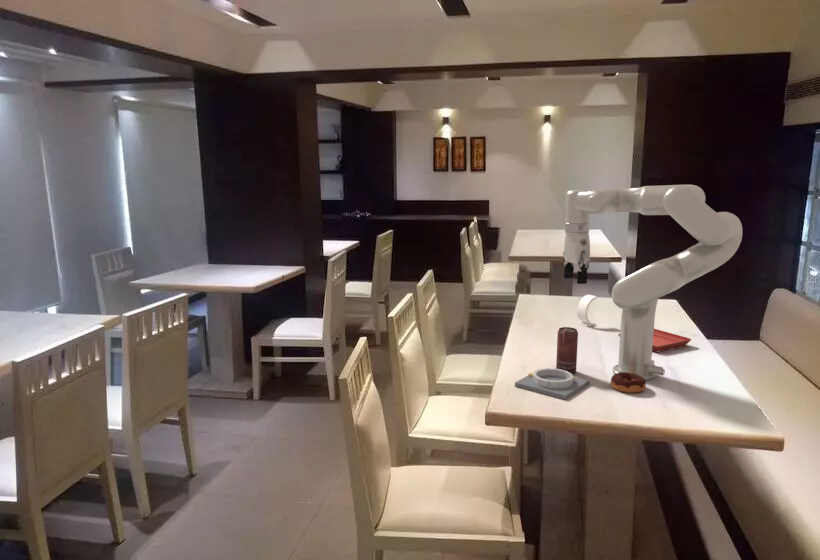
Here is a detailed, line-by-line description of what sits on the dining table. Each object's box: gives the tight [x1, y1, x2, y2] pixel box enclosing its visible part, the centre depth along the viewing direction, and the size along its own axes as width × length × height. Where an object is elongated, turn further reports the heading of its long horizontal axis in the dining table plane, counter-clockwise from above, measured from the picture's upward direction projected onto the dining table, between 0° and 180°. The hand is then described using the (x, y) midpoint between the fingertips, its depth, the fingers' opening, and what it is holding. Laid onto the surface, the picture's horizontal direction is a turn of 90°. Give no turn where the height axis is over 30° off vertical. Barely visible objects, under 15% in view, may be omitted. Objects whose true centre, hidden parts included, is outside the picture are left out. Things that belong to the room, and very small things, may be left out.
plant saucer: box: [617, 328, 692, 353], centre depth 214 cm, size 18×18×3 cm
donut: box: [610, 372, 647, 394], centre depth 172 cm, size 10×10×4 cm
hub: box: [514, 367, 591, 401], centre depth 174 cm, size 16×16×3 cm
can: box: [555, 326, 579, 375], centre depth 184 cm, size 6×6×14 cm
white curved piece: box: [576, 294, 598, 328], centre depth 239 cm, size 5×6×12 cm
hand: (574, 280), depth 193 cm, fingers open, 9 cm apart
